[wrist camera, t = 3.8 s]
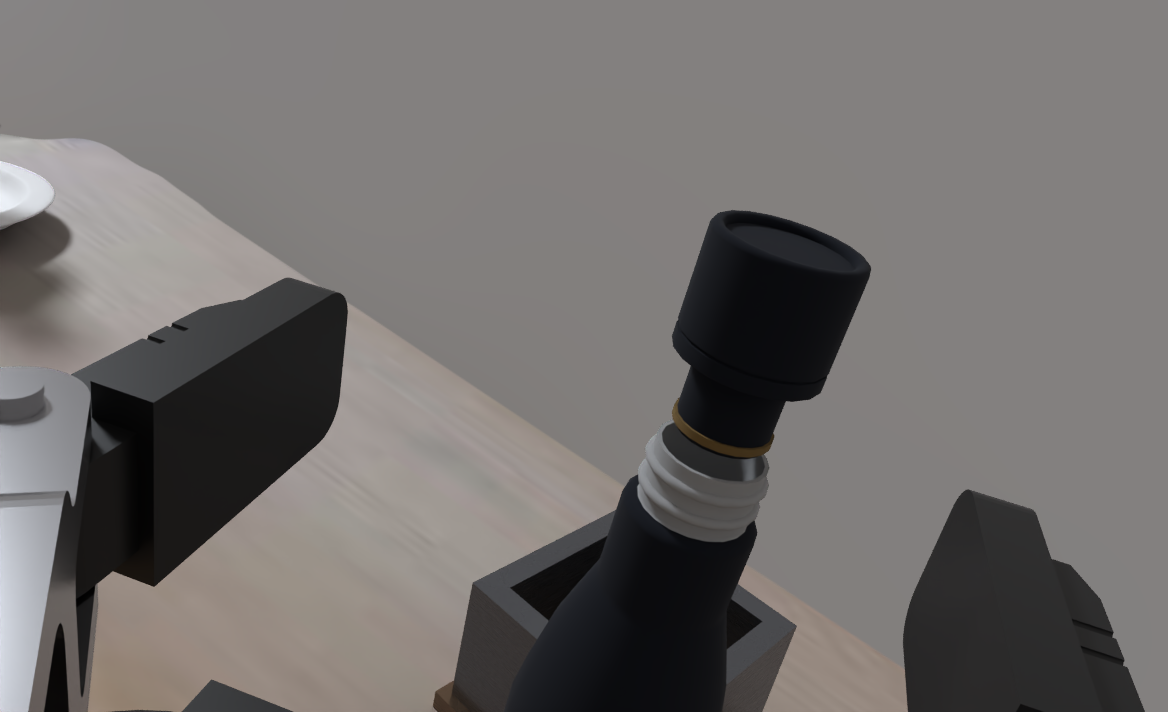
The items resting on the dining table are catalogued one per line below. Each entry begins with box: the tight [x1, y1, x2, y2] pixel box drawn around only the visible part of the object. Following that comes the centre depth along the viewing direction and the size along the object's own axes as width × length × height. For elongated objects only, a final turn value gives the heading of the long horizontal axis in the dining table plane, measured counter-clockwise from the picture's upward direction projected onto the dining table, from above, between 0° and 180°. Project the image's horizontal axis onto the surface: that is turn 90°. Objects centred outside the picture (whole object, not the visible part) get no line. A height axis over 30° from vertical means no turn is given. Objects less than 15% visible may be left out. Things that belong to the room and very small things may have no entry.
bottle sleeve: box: [433, 510, 797, 712], centre depth 44 cm, size 12×12×8 cm
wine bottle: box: [504, 210, 871, 712], centre depth 27 cm, size 6×6×30 cm
